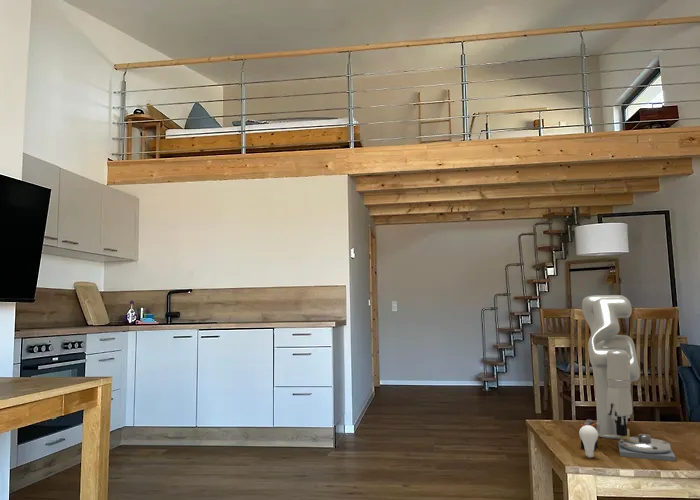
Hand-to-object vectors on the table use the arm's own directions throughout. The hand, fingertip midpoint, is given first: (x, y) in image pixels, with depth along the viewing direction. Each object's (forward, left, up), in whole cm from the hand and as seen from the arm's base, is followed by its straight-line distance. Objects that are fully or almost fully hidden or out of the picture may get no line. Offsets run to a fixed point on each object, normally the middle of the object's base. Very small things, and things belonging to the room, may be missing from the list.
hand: (621, 435), depth 201 cm
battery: (-11, -1, -6) cm, 13 cm away
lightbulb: (-11, -15, -6) cm, 20 cm away
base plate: (+7, 0, -5) cm, 9 cm away
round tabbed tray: (+7, 0, -4) cm, 8 cm away
